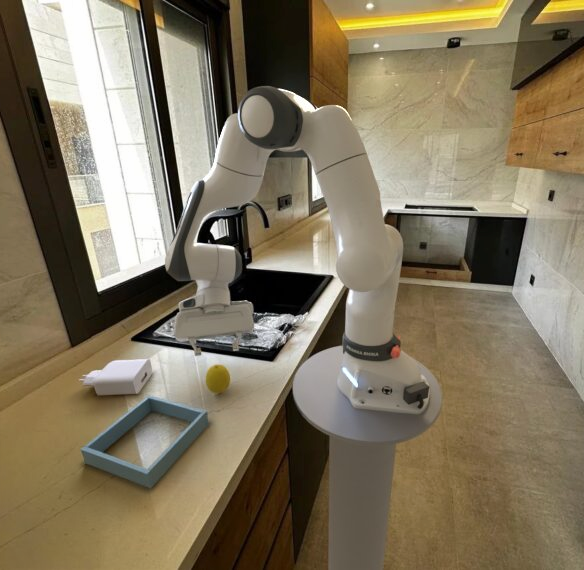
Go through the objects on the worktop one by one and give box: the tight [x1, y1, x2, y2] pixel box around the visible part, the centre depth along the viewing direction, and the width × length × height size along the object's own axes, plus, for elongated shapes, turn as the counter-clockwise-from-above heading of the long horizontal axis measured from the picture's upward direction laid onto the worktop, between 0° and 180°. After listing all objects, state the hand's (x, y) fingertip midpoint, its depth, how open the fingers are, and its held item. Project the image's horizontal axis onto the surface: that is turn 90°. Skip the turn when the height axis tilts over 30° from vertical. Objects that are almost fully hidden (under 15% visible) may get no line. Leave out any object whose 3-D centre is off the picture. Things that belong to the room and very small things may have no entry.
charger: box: [77, 358, 153, 396], centre depth 81 cm, size 5×9×15 cm
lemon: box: [205, 364, 231, 394], centre depth 78 cm, size 6×6×8 cm
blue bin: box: [80, 394, 210, 489], centre depth 65 cm, size 16×16×4 cm
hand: (217, 352), depth 85 cm, fingers open, 8 cm apart
